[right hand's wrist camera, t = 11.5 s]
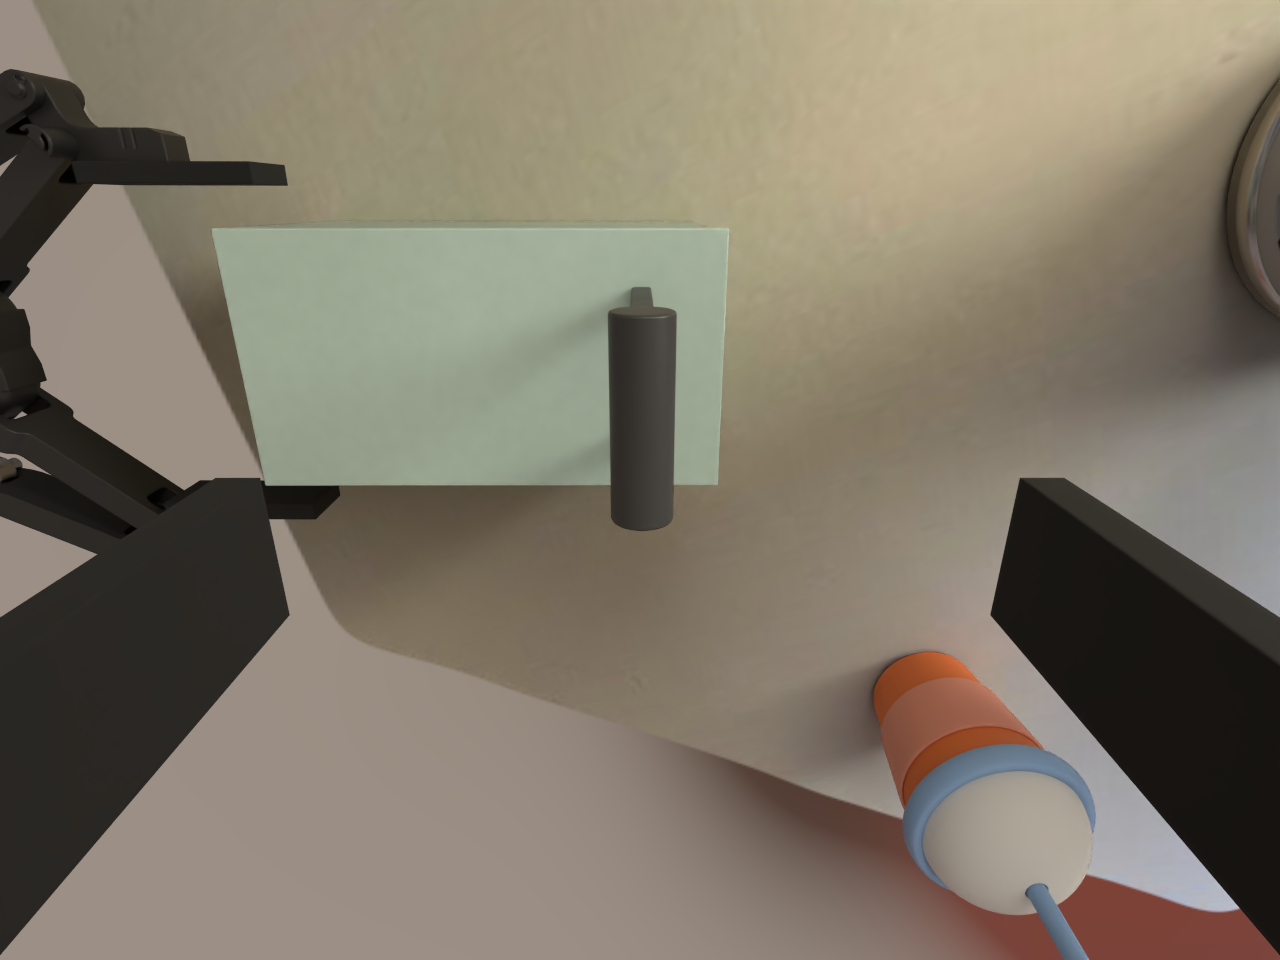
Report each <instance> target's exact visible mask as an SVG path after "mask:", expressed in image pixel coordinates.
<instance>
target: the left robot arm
mask: <svg viewBox="0 0 1280 960" xmlns="http://www.w3.org/2000/svg"><path fill="white" fill-rule="evenodd" d="M84 106H85V100H84V96H83V94H82V92H81V90H80V89H79V88H78V87H77V86H76V85H75V84H73V83H72V82H70V81H66V80H61V79H57V78H52V77H48V76H43V75H38V74H33V73H29V72H24V71H19V70H13V69H9V70H6V71H4V72H3V73H1V74H0V165H2V164H3V163H5V162H7V161H8V160H9V159H11V158H13V157H14V156H16V155H17V154H18V155H17V156H16V157H15V159H14V160H13V161H12V162H11V164H10V165H9V166H8V167H7V169H6V170H5V171H4V173H3V174H2V175H1V176H0V452H2V453H6V454H17V455H20V456H22V457H24V458H25V459H27V460H28V461H30V462H32V463H33V464H35V465H36V466H38V467H40V468H41V469H43V470H44V471H46V472H48V473H49V474H51V475H49V474H46V473H43V472H39V471H36V470H31V469H25V468H22V463H21V461H20V460H19V459H17V458H11V459H9V460H7V459H6V458H3V457H0V516H1V517H4V518H6V519H9V520H12V521H14V522H17V523H19V524H22V525H24V526H27V527H29V528H32V529H35V530H37V531H40V532H42V533H45V534H47V535H50V536H52V537H55V538H57V539H60V540H63V541H65V542H68V543H70V544H73V545H75V546H78V547H80V548H83V549H86V550H88V551H91V552H93V553H96V554H99V553H101V552H102V551H104V550H105V549H107V548H108V547H110V546H111V545H113V544H115V543H116V542H118V541H119V540H121V539H122V538H124V537H125V536H127V535H128V534H130V533H132V532H133V531H135V530H136V529H138V528H139V527H141V526H142V525H144V524H145V523H147V522H149V521H150V520H152V519H153V518H155V517H156V516H158V515H159V514H161V513H162V512H164V511H166V510H167V509H169V508H170V507H172V506H173V505H175V504H176V503H178V502H179V501H181V500H183V499H184V498H186V497H187V496H189V495H190V494H192V493H193V492H195V491H196V490H198V489H200V488H201V487H203V486H204V485H206V484H207V483H209V482H210V481H212V480H200V481H198V482H197V483H195V484H194V485H192V486H191V487H189V488H187V489H186V490H183V489H181V488H180V487H178V486H177V485H175V484H174V483H172V482H171V481H169V480H168V479H166V478H165V477H163V476H161V475H160V474H158V473H157V472H155V471H154V470H152V469H151V468H149V467H148V466H146V465H145V464H143V463H142V462H140V461H139V460H137V459H135V458H134V457H132V456H131V455H129V454H128V453H126V452H125V451H123V450H122V449H120V448H119V447H117V446H116V445H114V444H112V443H111V442H109V441H108V440H106V439H105V438H103V437H102V436H100V435H99V434H97V433H96V432H94V431H93V430H91V429H89V428H88V427H86V426H85V425H83V424H82V423H80V422H79V421H77V420H76V419H74V417H73V410H72V409H71V408H70V407H69V406H67V405H66V404H64V403H63V402H61V401H60V400H58V399H57V398H55V397H54V396H52V395H51V394H49V393H47V392H46V391H44V390H43V389H41V388H40V382H43V381H46V380H47V379H46V377H45V373H44V370H43V367H42V364H41V362H40V360H39V359H38V357H37V355H36V353H35V352H34V350H33V348H32V347H31V339H30V326H29V323H28V320H27V316H26V313H25V310H24V309H17V308H16V307H15V305H14V304H13V302H12V301H11V300H10V299H9V298H8V297H9V296H10V295H11V294H12V292H13V291H14V290H15V289H16V288H17V286H18V285H19V284H20V283H21V281H22V280H23V279H24V278H25V277H26V275H27V274H28V273H29V271H30V269H29V268H28V267H27V264H28V262H29V261H30V260H31V259H32V258H33V256H34V255H35V254H36V253H37V252H38V250H39V249H40V248H41V247H42V245H43V244H44V243H45V242H46V241H47V239H48V238H49V237H50V236H51V235H52V233H53V232H54V231H55V230H56V229H57V227H58V226H59V225H60V224H61V222H62V221H63V220H64V219H65V218H66V216H67V215H68V214H69V213H70V212H71V210H72V209H73V208H74V207H75V206H76V204H77V203H78V202H79V201H80V200H81V198H82V197H83V196H84V195H85V193H86V192H87V191H88V190H89V189H90V187H91V186H92V185H93V184H109V185H265V186H288V184H287V178H286V172H285V166H284V165H277V164H268V163H258V162H238V161H190V159H189V154H188V150H187V145H186V140H185V137H183V136H181V135H178V134H176V133H174V132H171V131H165V130H159V129H152V128H99V127H97V126H96V125H94V124H93V123H92V122H91V121H90V119H89V118H88V116H87V115H86V113H85V111H84V110H83V109H84ZM22 411H23V412H24V413H26V414H27V415H26V416H23V417H20V418H17V419H14V418H15V417H16V416H17V415H18V414H19V413H21V412H22ZM261 485H262V489H263V494H264V499H265V503H266V508H267V513H268V517H269V519H317V518H318V517H319V516H320V515H321V514H322V513H323V512H324V511H325V510H326V509H327V508H328V507H329V506H330V505H331V504H332V503H333V502H334V501H335V500H336V499H337V498H338V497H339V496H340V491H339V486H266V485H265V481H261Z"/></svg>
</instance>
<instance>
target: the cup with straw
mask: <svg viewBox="0 0 1280 960" xmlns="http://www.w3.org/2000/svg"><path fill="white" fill-rule="evenodd" d="M873 702H874V707H875V711H876V714H877V717H878V721H879V724H880V727H881V738H882V743H883V747H884V750H885V753H886V756H887V760H888V763H889V766H890V769H891V772H892V775H893V779H894V782H895V785H896V788H897V791H898V795H899V798H900V801H901V804H902V806H903V808H904V810H905V811H904V816H903V835H904V839H905V843H906V846H907V849H908V851H909V853H910V855H911V857H912V859H913V860H914V862H915V863H916V865H917V866H918V867H919V869H920V870H921V871H922V872H923V873H924V874H925V875H926V876H927V877H928V878H930V879H931V880H932V881H934V882H935V883H937V884H938V885H940V886H942V887H944V888H946V889H948V890H951V891H953V892H954V893H956V894H957V895H958V896H960V897H961V898H963V899H964V900H966V901H968V902H970V903H972V904H973V905H976V906H978V907H981V908H983V909H986V910H989V911H992V912H996V913H1001V914H1010V915H1025V914H1032V913H1038V915H1039V917H1040V919H1041V920H1042V922H1043V924H1044V926H1045V927H1046V929H1047V931H1048V933H1049V935H1050V936H1051V938H1052V940H1053V942H1054V944H1055V945H1056V947H1057V949H1058V951H1059V953H1060V954H1061V956H1062V958H1063V960H1089V959H1088V957H1087V955H1086V954H1085V952H1084V950H1083V949H1082V947H1081V945H1080V944H1079V942H1078V940H1077V938H1076V937H1075V935H1074V933H1073V932H1072V930H1071V928H1070V927H1069V925H1068V923H1067V922H1066V920H1065V918H1064V917H1063V915H1062V913H1061V911H1060V910H1059V908H1058V906H1057V904H1059V903H1061V902H1062V901H1064V900H1065V899H1067V898H1068V897H1069V896H1070V895H1071V894H1072V893H1073V892H1074V891H1075V890H1076V889H1077V887H1078V886H1079V885H1080V883H1081V882H1082V880H1083V879H1084V877H1085V875H1086V872H1087V870H1088V867H1089V864H1090V860H1091V855H1092V834H1093V831H1094V827H1095V806H1094V802H1093V798H1092V796H1091V793H1090V791H1089V789H1088V787H1087V785H1086V783H1085V782H1084V780H1083V779H1082V777H1081V776H1080V775H1079V774H1078V772H1077V771H1076V770H1075V769H1074V768H1073V767H1072V766H1071V765H1069V764H1068V763H1067V762H1066V761H1064V760H1063V759H1061V758H1060V757H1058V756H1056V755H1055V754H1053V753H1050V752H1048V751H1046V750H1044V748H1043V747H1042V746H1041V744H1040V743H1039V742H1038V741H1037V740H1036V739H1035V737H1034V736H1033V735H1032V734H1031V733H1030V732H1029V731H1028V730H1027V729H1026V728H1025V727H1024V725H1023V724H1022V723H1021V722H1020V721H1019V720H1018V719H1017V718H1016V717H1015V716H1014V714H1013V713H1012V712H1011V711H1010V710H1009V709H1008V708H1007V707H1006V706H1005V705H1004V704H1003V702H1002V701H1001V700H1000V699H999V698H998V697H997V696H996V695H995V694H994V693H993V692H992V691H991V690H990V689H989V688H987V687H986V686H984V685H982V684H981V683H980V682H979V681H978V680H977V679H976V678H975V676H974V675H973V674H972V673H971V672H970V671H969V670H968V669H967V668H966V667H965V666H964V665H963V664H962V663H961V662H960V661H958V660H957V659H955V658H953V657H951V656H949V655H946V654H943V653H938V652H921V653H916V654H912V655H909V656H906V657H904V658H902V659H900V660H898V661H896V662H895V663H893V664H892V665H891V666H889V667H888V668H887V669H886V670H885V671H884V672H883V674H882V675H881V676H880V678H879V679H878V681H877V683H876V686H875V689H874V695H873Z"/></svg>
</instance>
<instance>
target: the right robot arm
mask: <svg viewBox="0 0 1280 960" xmlns="http://www.w3.org/2000/svg"><path fill="white" fill-rule="evenodd" d="M1227 235H1228V242H1229V248H1230V252H1231V256H1232V259H1233V262H1234V265H1235V267H1236V270H1237V272H1238V275H1239V276H1240V278H1241V280H1242V282H1243V284H1244V285H1245V287H1246V288H1247V289H1248V291H1249V292H1250V293H1251V295H1252V296H1253V297H1254V298H1255V299H1256V300H1257V301H1258V302H1259V303H1260V304H1261V305H1262V306H1263V307H1265V308H1266V309H1267V310H1268V311H1270V312H1271V313H1273V314H1274V315H1276V316H1278V317H1279V318H1280V80H1279V81H1278V83H1277V84H1276V85H1275V87H1274V88H1273V89H1272V91H1271V92H1270V94H1269V95H1268V97H1267V98H1266V100H1265V101H1264V103H1263V105H1262V106H1261V108H1260V109H1259V111H1258V113H1257V115H1256V117H1255V118H1254V120H1253V122H1252V124H1251V126H1250V128H1249V130H1248V132H1247V134H1246V137H1245V139H1244V141H1243V144H1242V146H1241V148H1240V151H1239V154H1238V157H1237V160H1236V163H1235V166H1234V170H1233V174H1232V178H1231V182H1230V188H1229V194H1228V201H1227ZM288 616H289V610H288V606H287V601H286V596H285V591H284V587H283V582H282V578H281V573H280V568H279V564H278V559H277V555H276V550H275V545H274V540H273V536H272V531H271V527H270V522H269V517H268V513H267V508H266V503H265V499H264V494H263V489H262V485H261V480H260V478H215V479H213V480H212V481H210V482H209V483H207V484H206V485H204V486H203V487H201V488H200V489H198V490H196V491H195V492H193V493H192V494H190V495H189V496H187V497H186V498H184V499H183V500H181V501H179V502H178V503H176V504H175V505H173V506H172V507H170V508H169V509H167V510H166V511H164V512H162V513H161V514H159V515H158V516H156V517H155V518H153V519H152V520H150V521H149V522H147V523H145V524H144V525H142V526H141V527H139V528H138V529H136V530H135V531H133V532H132V533H130V534H128V535H127V536H125V537H124V538H122V539H121V540H119V541H118V542H116V543H115V544H113V545H111V546H110V547H108V548H107V549H105V550H104V551H102V552H101V553H99V554H98V555H96V556H94V557H93V558H91V559H90V560H88V561H87V562H85V563H84V564H82V565H81V566H79V567H78V568H76V569H74V570H73V571H71V572H70V573H68V574H67V575H65V576H64V577H62V578H61V579H59V580H57V581H56V582H54V583H53V584H51V585H50V586H48V587H47V588H45V589H44V590H42V591H41V592H39V593H37V594H36V595H34V596H33V597H31V598H30V599H28V600H27V601H25V602H23V603H22V604H20V605H19V606H17V607H16V608H14V609H13V610H11V611H10V612H8V613H6V614H5V615H3V616H2V617H0V955H1V954H2V952H3V951H4V950H5V949H6V948H7V946H8V945H9V944H10V943H11V942H12V941H13V939H14V938H15V937H16V936H17V935H18V934H19V932H20V931H21V930H22V929H23V928H24V926H25V925H26V924H27V923H28V922H29V921H30V919H31V918H32V917H33V916H34V915H35V914H36V912H37V911H38V910H39V909H40V908H41V907H42V905H43V904H44V903H45V902H46V901H47V899H48V898H49V897H50V896H51V895H52V894H53V892H54V891H55V890H56V889H57V888H58V886H59V885H60V884H61V883H62V882H63V881H64V879H65V878H66V877H67V876H68V875H69V874H70V872H71V871H72V870H73V869H74V868H75V867H76V865H77V864H78V863H79V862H80V861H81V860H82V858H83V857H84V856H85V855H86V854H87V852H88V851H89V850H90V849H91V848H92V847H93V845H94V844H95V843H96V842H97V841H98V840H99V838H100V837H101V836H102V835H103V834H104V832H105V831H106V830H107V829H108V828H109V827H110V825H111V824H112V823H113V822H114V821H115V820H116V818H117V817H118V816H119V815H120V814H121V813H122V811H123V810H124V809H125V808H126V807H127V805H128V804H129V803H130V802H131V801H132V800H133V798H134V797H135V796H136V795H137V794H138V793H139V791H140V790H141V789H142V788H143V787H144V785H145V784H146V783H147V782H148V781H149V780H150V778H151V777H152V776H153V775H154V774H155V773H156V771H157V770H158V769H159V768H160V767H161V766H162V764H163V763H164V762H165V761H166V760H167V758H168V757H169V756H170V755H171V754H172V753H173V751H174V750H175V749H176V748H177V747H178V746H179V744H180V743H181V742H182V741H183V740H184V738H185V737H186V736H187V735H188V734H189V733H190V731H191V730H192V729H193V728H194V727H195V726H196V724H197V723H198V722H199V721H200V720H201V719H202V717H203V716H204V715H205V714H206V713H207V711H208V710H209V709H210V708H211V707H212V706H213V704H214V703H215V702H216V701H217V700H218V699H219V697H220V696H221V695H222V694H223V693H224V691H225V690H226V689H227V688H228V687H229V686H230V684H231V683H232V682H233V681H234V680H235V679H236V677H237V676H238V675H239V674H240V673H241V671H242V670H243V669H244V668H245V667H246V666H247V664H248V663H249V662H250V661H251V660H252V659H253V657H254V656H255V655H256V654H257V653H258V652H259V650H260V649H261V648H262V647H263V646H264V644H265V643H266V642H267V641H268V640H269V639H270V637H271V636H272V635H273V634H274V633H275V631H276V630H277V629H278V628H279V627H280V626H281V624H282V623H283V622H284V621H285V620H286V619H287V617H288ZM991 616H992V617H993V619H994V620H995V621H996V622H997V623H998V625H999V626H1000V627H1001V628H1002V629H1003V630H1004V632H1005V633H1006V634H1007V635H1008V636H1009V637H1010V639H1011V640H1012V641H1013V642H1014V643H1015V644H1016V646H1017V647H1018V648H1019V649H1020V650H1021V652H1022V653H1023V654H1024V655H1025V656H1026V657H1027V659H1028V660H1029V661H1030V662H1031V663H1032V664H1033V666H1034V667H1035V668H1036V669H1037V670H1038V672H1039V673H1040V674H1041V675H1042V676H1043V677H1044V679H1045V680H1046V681H1047V682H1048V683H1049V684H1050V686H1051V687H1052V688H1053V689H1054V690H1055V691H1056V693H1057V694H1058V695H1059V696H1060V697H1061V699H1062V700H1063V701H1064V702H1065V703H1066V704H1067V706H1068V707H1069V708H1070V709H1071V710H1072V711H1073V713H1074V714H1075V715H1076V716H1077V717H1078V719H1079V720H1080V721H1081V722H1082V723H1083V724H1084V726H1085V727H1086V728H1087V729H1088V730H1089V731H1090V733H1091V734H1092V735H1093V736H1094V737H1095V738H1096V740H1097V741H1098V742H1099V743H1100V744H1101V746H1102V747H1103V748H1104V749H1105V750H1106V751H1107V753H1108V754H1109V755H1110V756H1111V757H1112V758H1113V760H1114V761H1115V762H1116V763H1117V764H1118V766H1119V767H1120V768H1121V769H1122V770H1123V771H1124V773H1125V774H1126V775H1127V776H1128V777H1129V778H1130V780H1131V781H1132V782H1133V783H1134V784H1135V785H1136V787H1137V788H1138V789H1139V790H1140V791H1141V793H1142V794H1143V795H1144V796H1145V797H1146V798H1147V800H1148V801H1149V802H1150V803H1151V804H1152V805H1153V807H1154V808H1155V809H1156V810H1157V811H1158V813H1159V814H1160V815H1161V816H1162V817H1163V818H1164V820H1165V821H1166V822H1167V823H1168V824H1169V825H1170V827H1171V828H1172V829H1173V830H1174V831H1175V832H1176V834H1177V835H1178V836H1179V837H1180V838H1181V840H1182V841H1183V842H1184V843H1185V844H1186V845H1187V847H1188V848H1189V849H1190V850H1191V851H1192V852H1193V854H1194V855H1195V856H1196V857H1197V858H1198V860H1199V861H1200V862H1201V863H1202V864H1203V865H1204V867H1205V868H1206V869H1207V870H1208V871H1209V872H1210V874H1211V875H1212V876H1213V877H1214V878H1215V880H1216V881H1217V882H1218V883H1219V884H1220V885H1221V887H1222V888H1223V889H1224V890H1225V891H1226V892H1227V894H1228V895H1229V896H1230V897H1231V898H1232V899H1233V901H1234V902H1235V903H1236V904H1237V905H1238V907H1239V908H1240V909H1241V910H1242V911H1243V912H1244V914H1245V915H1246V916H1247V917H1248V918H1249V919H1250V921H1251V922H1252V923H1253V924H1254V925H1255V927H1256V928H1257V929H1258V930H1259V931H1260V932H1261V934H1262V935H1263V936H1264V937H1265V938H1266V939H1267V941H1268V942H1269V943H1270V944H1271V945H1272V946H1273V948H1274V949H1275V950H1276V951H1277V952H1278V954H1279V955H1280V617H1278V616H1277V615H1275V614H1274V613H1272V612H1270V611H1269V610H1267V609H1266V608H1264V607H1263V606H1261V605H1260V604H1258V603H1257V602H1255V601H1253V600H1252V599H1250V598H1249V597H1247V596H1246V595H1244V594H1243V593H1241V592H1240V591H1238V590H1236V589H1235V588H1233V587H1232V586H1230V585H1229V584H1227V583H1226V582H1224V581H1223V580H1221V579H1219V578H1218V577H1216V576H1215V575H1213V574H1212V573H1210V572H1209V571H1207V570H1206V569H1204V568H1202V567H1201V566H1199V565H1198V564H1196V563H1195V562H1193V561H1192V560H1190V559H1189V558H1187V557H1186V556H1184V555H1182V554H1181V553H1179V552H1178V551H1176V550H1175V549H1173V548H1172V547H1170V546H1169V545H1167V544H1165V543H1164V542H1162V541H1161V540H1159V539H1158V538H1156V537H1155V536H1153V535H1152V534H1150V533H1148V532H1147V531H1145V530H1144V529H1142V528H1141V527H1139V526H1138V525H1136V524H1135V523H1133V522H1131V521H1130V520H1128V519H1127V518H1125V517H1124V516H1122V515H1121V514H1119V513H1118V512H1116V511H1114V510H1113V509H1111V508H1110V507H1108V506H1107V505H1105V504H1104V503H1102V502H1101V501H1099V500H1097V499H1096V498H1094V497H1093V496H1091V495H1090V494H1088V493H1087V492H1085V491H1084V490H1082V489H1080V488H1079V487H1077V486H1076V485H1074V484H1073V483H1071V482H1070V481H1068V480H1067V479H1065V478H1020V480H1019V485H1018V489H1017V494H1016V499H1015V503H1014V508H1013V513H1012V517H1011V522H1010V527H1009V531H1008V536H1007V540H1006V545H1005V550H1004V554H1003V559H1002V564H1001V568H1000V573H999V578H998V582H997V587H996V591H995V596H994V601H993V605H992V610H991Z"/></svg>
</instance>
